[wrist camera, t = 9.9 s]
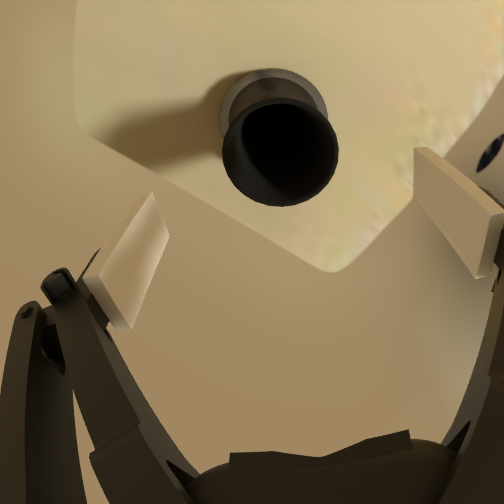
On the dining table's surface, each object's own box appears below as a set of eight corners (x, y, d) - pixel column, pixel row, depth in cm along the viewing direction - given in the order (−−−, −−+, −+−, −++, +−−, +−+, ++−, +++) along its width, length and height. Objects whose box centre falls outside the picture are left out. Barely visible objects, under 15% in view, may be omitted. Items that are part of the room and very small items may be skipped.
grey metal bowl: (211, 79, 30) (207, 81, 28) (314, 61, 28) (319, 61, 26) (234, 171, 36) (233, 179, 34) (329, 155, 34) (334, 162, 32)
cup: (302, 163, 32) (320, 216, 22) (230, 149, 32) (214, 196, 22) (320, 94, 28) (352, 114, 18) (243, 77, 27) (233, 86, 17)
